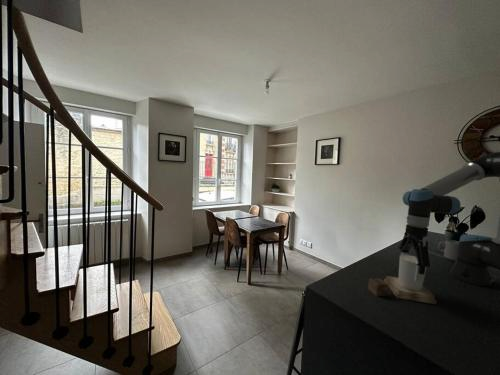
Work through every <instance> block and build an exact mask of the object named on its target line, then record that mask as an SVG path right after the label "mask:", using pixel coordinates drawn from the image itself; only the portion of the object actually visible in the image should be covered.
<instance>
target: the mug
mask: <svg viewBox="0 0 500 375" xmlns="http://www.w3.org/2000/svg"><path fill="white" fill-rule="evenodd" d="M459 241H460V240H459ZM459 241H457V240H453V239H446V240H445V241H440V242H438V244H437V250H438V251H439V252H442V253H443V257H444V258H445V259H448V260H452V261H456V260H457V254H458V247H459ZM441 245H444V249H441Z"/></svg>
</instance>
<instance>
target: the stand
mask: <svg viewBox="0 0 500 375" xmlns="http://www.w3.org/2000/svg"><path fill="white" fill-rule="evenodd" d="M383 281H384V282H385V283H387V284H388V289H390V291H391V293H393V294H394V296H395V297H396V298H397V299H402V300H408V301H414V302H420V303H426V304H433V305H437V300H436V299H435V295H434V294H433V293H432V292H431V291H430V290H428V289H427V288H426V287H425V286H424V285H422V289H421V290H418V291H417V290H411V289H408V288H405V287H403V286H401V285H400V284H399V282H398V277H396V276H391V275H390V276H388V275H386V278H385V277H384V280H383Z"/></svg>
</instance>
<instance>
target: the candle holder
mask: <svg viewBox="0 0 500 375" xmlns="http://www.w3.org/2000/svg"><path fill="white" fill-rule="evenodd" d="M398 260H399V262H398V277H397V278H398V282H399V284H400V285H401V286H403V287H405V288H408V289H411V290H417V291H418V290H421V289H422V285H423V284H424V281H425V279H424V280H423V282H421V281H415V274H416V267H417V265H416V264H418V260H417V256H415V255H410V254H408V255H401V254H400V255H399V259H398ZM427 269H428V267H425V273H424V277H425V275H426V271H427ZM423 286H424V285H423Z"/></svg>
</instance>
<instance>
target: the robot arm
mask: <svg viewBox="0 0 500 375" xmlns="http://www.w3.org/2000/svg"><path fill="white" fill-rule="evenodd" d="M486 178H499V180H498V181H499V182H500V151H496V152H491V153H488V154H485V155H482V156H479V157H477V158H474V159H472V160H470V161H468V162H466V163H464V164H463V166H462V167H460V168H459V169H457V170H455V171H453V172H451V173H449V174H448V175H445V176H443V177H441V178H440V179H438V180H436V181H433V182H431V183H430V184H427V185H426V186H423V187H422V188H420V189H417V188H413V189H412V190H411V191H409V190H408V191H406V192H404V194H403V195H402V202H403V203H404V205H406V206H408V210H407V216H406V223H407V224H405V232H404V234H403V237H402V240H401V242H400V245H399V246H398V250H400V252H401V253H400V255H409V253H410V250H411V249H412V248H413V250H414V251H415V252H414V253H415V255H416V257H417V260H418V264H416V265H417V267H416V274H415V281H421V282H423V283H424V281H425V276H424V273H425V274H426V272H425V267H427V268H430V267H431V262H430V256H429V247H428V246H429V242H428V241H427V240H424V238H425V237H427V236H428V233H429V226H430V219H431V213H432V214H433V213H435V214H446V215H449V214H452V215H453V214H455V213H458V212H459V211H460V209H461V205H462V204H461V201H460V199H459V198H457V197H455V196H451V195H448V194H451V193H452V192H454V191H456V190H458V189H460V188H461V187H464V186H466V185H467V184H469V183H472V182H474V181H481V180H482V179H486ZM489 267H490V268H493V269H496V270H498V271H500V216H499V218H498V225H497V233H496V237H491V236H486V235H479V234H478V235H477V234H465V233H464V234H461V235H460V237H459V247H458V254H457V260H455V262H454V263H453V265H452V267H451V268H450V270H449V274H450V275H451V276H452V277H453V278H455V279H457V280H460V281H463V282H464V283H467V284H470V285H471V284H472V285H475V286H480V287H491V286H492V281H493V280H492V277H491V274H490V273H491V272H490V270H489ZM423 280H424V281H423ZM490 285H491V286H490Z"/></svg>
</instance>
